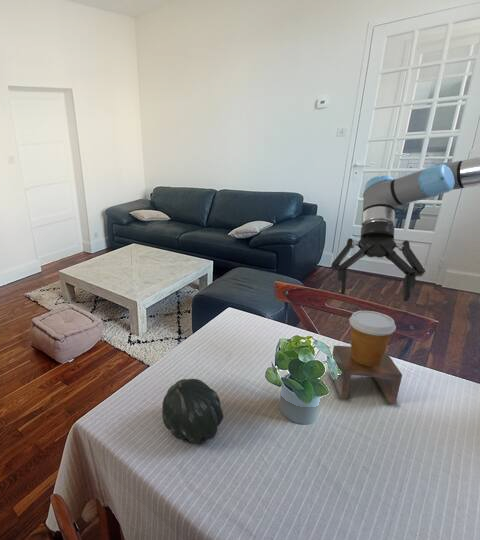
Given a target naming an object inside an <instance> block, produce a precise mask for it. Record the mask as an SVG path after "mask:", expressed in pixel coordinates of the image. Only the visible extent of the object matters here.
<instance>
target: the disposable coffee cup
mask: <svg viewBox="0 0 480 540" xmlns="http://www.w3.org/2000/svg"><path fill="white" fill-rule="evenodd" d="M348 322H349V324H350V347H351V357H352V359H353V360H354V361H356V362H358V363H360V364H363V365H366V366H377V365H379V364H380V363H381V360H382V358H383V355H384V353H385V351H387V348H388V345H389V343H390V341H391V337H392V334H393V333H395V331H396V329H397V326H396V323H395V320H394V319H393V318H392V317H391V316H389V315H388V314H384V313H381V312H379V311H373V310H358V311H355V312H352V315H351V316H350V317H349V318H348Z"/></svg>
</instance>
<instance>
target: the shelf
mask: <svg viewBox="0 0 480 540" xmlns="http://www.w3.org/2000/svg"><path fill="white" fill-rule="evenodd" d="M332 349H333V350H332V354H331V357H332V356H333V359H334V360H335V362H336V364H337V366H338V368H339V369H340V370H341V371H342V374H341V375H338V377H337V379H333V378H332V379H333V382H334V385H335V387H336V390H337V392H338V395H339V397H340V399H348V397H349V390H350V384H351V379H352V378H351V377H352V376H357V377H369V378H374V381H375V382H376V384H377V385H378V387H379V389H380V391H381V393H382V394H383V396H384V398H385V399H386V401H387V403H388V404H392V405H396V404H397V400H398V395H399V393H400V392H399V391H400V386H401V383H402V378H403V374H402V372H401V370H400V369H399V368H398V366H397V365H396V364H395V362H394V361H393V359H392V358H391V356H390V354H389V353H388V352H387V350H385V353H384V355H383V358H382V360H381V363H380V364H379V365H377V366H366V365H363V364H360V363H358V362H356V361H354V360H353V359H352V357H351V346H347V345H333V348H332Z"/></svg>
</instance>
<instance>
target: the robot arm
mask: <svg viewBox="0 0 480 540" xmlns="http://www.w3.org/2000/svg"><path fill="white" fill-rule="evenodd" d="M479 186H480V156H478V157H472V158H467V159H463V160H456V161H452V162H442V163H438V164H435V165H434V166H429V167H426V168H424V169H420V170H417V171H415V172H412V173H410V174H407V175H404V176H401V177H398V178H394V177H393V176H391V175H382V176H380V175H377V176H374V177H372V178H370V179H368V180H367V181H366V183H365V185H364V191H363V194H362V197H363V203H362V213H361V215H362V216H361V227H360V238H359V240H354V239H353V238H351V237H350V238H348V239H347V241H346V245H345V246H344V247H343V248H342V250H341V252H339V254H338V255H336V258H335V259H334V260H333V261H332V262H331V266H330V269H331V270H333V271H337V280H336V281H337V283H341V289H340V295H345V292H346V285H347V284H346V282H347V273H348V272H347V271H348V269H349V267H351V266H352V265H354V264H355V263H356V262H358V261H359V260H360V259H362V258H364V257H365V256H367V257H368V258H374V257H375V258H380V259H382V258H384V257H385V258H386V259H387V260H388V261H390V262H391V263H393V264H394V266H396V267H397V269H399V270H400V271H401V272H402V273H403V274H404V275H405V276H404V277H403V302H408V301H409V300H410V298H411V290H414V288H415V287H416V278H417V277H423V276H424V275H425V273H426V269H425V268H424V266H423V264H422V263H421V261H420V260H419V259H418V258H417V256H416V255H415V253H414V252H413V250H412V248H411V245H410V241H409V240H404V241H403V242H402V241H401V242H397V241H395V223H396V208H397V207H400V206H403V205H407V204H409V203H413V202H417V201H421V200H425V199H429V198H432V197H433V198H435V197H438V196H441V195H443V194H447V193H449V192H451V191H453V190H460V189H466V188H472V187H479ZM356 246H357V247H358V248H359V250H358V251H357V252H355V253H354V254H353V255H351V256H350V257H349V258H348V259H346V260H345V261H343V260H344V259H345V258H346V257H347V255H348V254H349V253H350V251H351V249H354V248H355V247H356ZM396 248H397V249H398V250H399V251H400V252H402V255H403V257H404V258H405V260H406V261H407V262H408V263H407V262H406V261H405V260H404V259H403V258H402V257H400V255H399V254H397V252H396V251H395V250H394V249H396Z"/></svg>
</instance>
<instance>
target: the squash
mask: <svg viewBox="0 0 480 540" xmlns="http://www.w3.org/2000/svg"><path fill="white" fill-rule="evenodd" d="M161 406H162V411H161V415H162V416H161V417H162V421H163V422H162V423H163V424H164V427H166V429H167V430H169V431H170V432H171V434H172V435H173V437H174V438H176V439H179V440H183V439H187V440H188V441H189V442H191V443H192V444H199V443H200V442H201V440H202V439H204V440H212V439H214V438H215V436H216V435H217V434H218V433H217V432H218V427H219V426H220V425H221V423H222V421H223V419H224V413H223V408H222V407H221V400H220V397H219V395H218V394H217V392H216V391H215V389H213V388H210V385H208V384H206V383H205V382H204V381H203V380H201V379H199V378H198V379H197V378H183V379H179V380H178V381H176V382H175V383H174V384H172V385H171V386H170V387H169V388H168V390H167V391H166V394H165V396H164V397H163V400H162V405H161Z"/></svg>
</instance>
